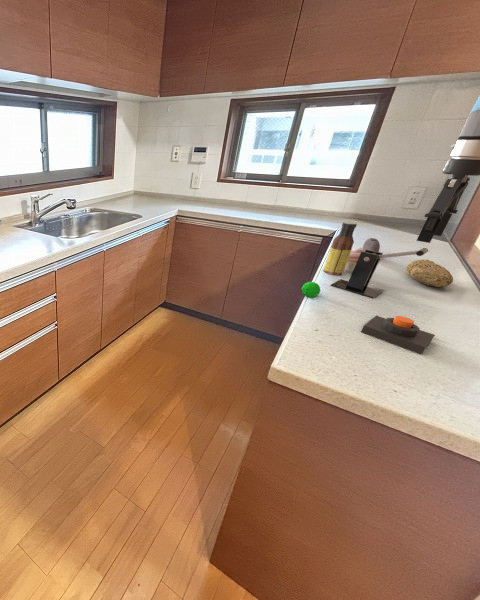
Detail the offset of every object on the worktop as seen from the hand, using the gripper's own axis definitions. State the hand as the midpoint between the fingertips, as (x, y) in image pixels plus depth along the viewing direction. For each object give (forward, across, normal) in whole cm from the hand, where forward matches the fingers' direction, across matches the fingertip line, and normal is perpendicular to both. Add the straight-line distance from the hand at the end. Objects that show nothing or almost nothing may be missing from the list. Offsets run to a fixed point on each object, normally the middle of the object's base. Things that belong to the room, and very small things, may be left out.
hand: (429, 238), depth 94 cm
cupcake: (+21, -20, -19) cm, 35 cm away
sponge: (+21, -34, 0) cm, 40 cm away
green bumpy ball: (+21, +19, -18) cm, 34 cm away
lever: (+8, 0, -5) cm, 9 cm away
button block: (+21, +27, +6) cm, 35 cm away
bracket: (+21, 0, -11) cm, 24 cm away
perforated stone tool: (+21, -53, -22) cm, 61 cm away
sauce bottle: (+21, -11, -22) cm, 32 cm away
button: (+17, +27, +6) cm, 33 cm away
